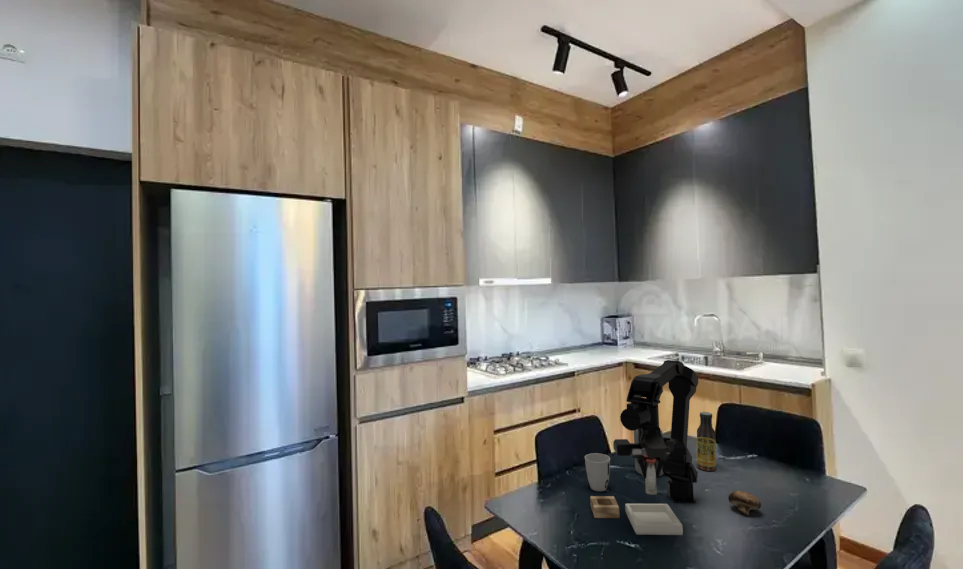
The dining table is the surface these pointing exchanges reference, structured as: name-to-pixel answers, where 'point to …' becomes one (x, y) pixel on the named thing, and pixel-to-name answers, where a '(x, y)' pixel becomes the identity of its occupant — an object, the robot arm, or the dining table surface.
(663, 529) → the tray
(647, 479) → the red capped tube
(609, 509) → the block
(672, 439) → the robot arm
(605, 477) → the cup
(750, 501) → the mushroom
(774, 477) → the dining table surface
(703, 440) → the sauce bottle
